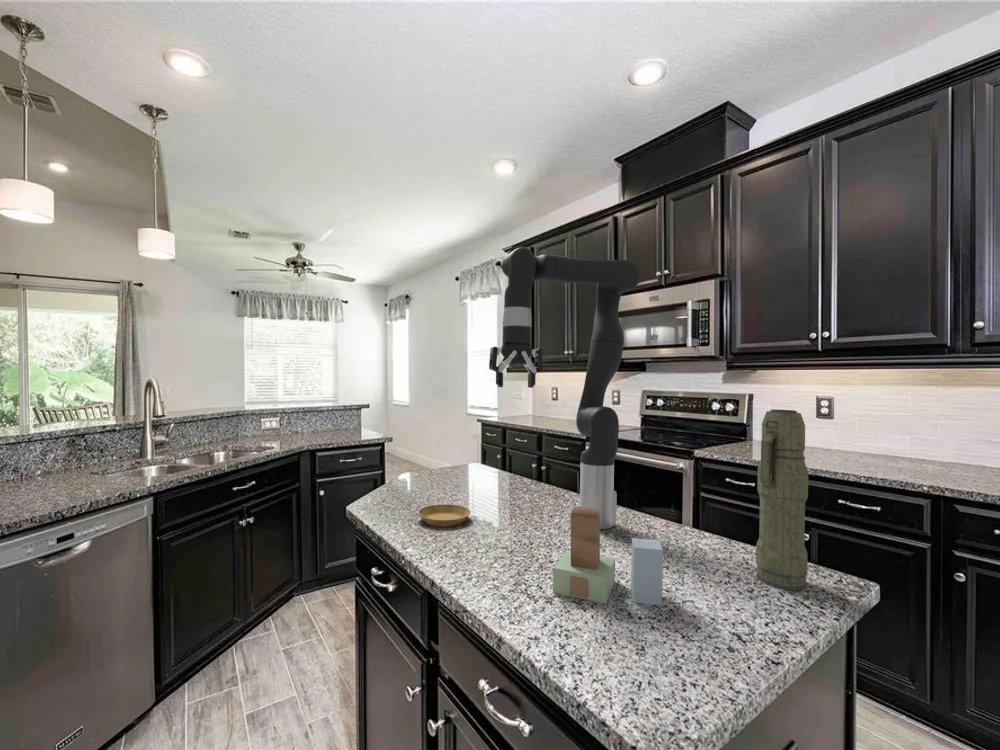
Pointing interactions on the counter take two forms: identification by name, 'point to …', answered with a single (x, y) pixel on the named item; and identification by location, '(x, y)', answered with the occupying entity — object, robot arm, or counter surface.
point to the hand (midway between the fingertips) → (515, 387)
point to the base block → (584, 579)
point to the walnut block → (585, 537)
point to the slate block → (646, 571)
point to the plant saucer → (444, 514)
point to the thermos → (782, 501)
